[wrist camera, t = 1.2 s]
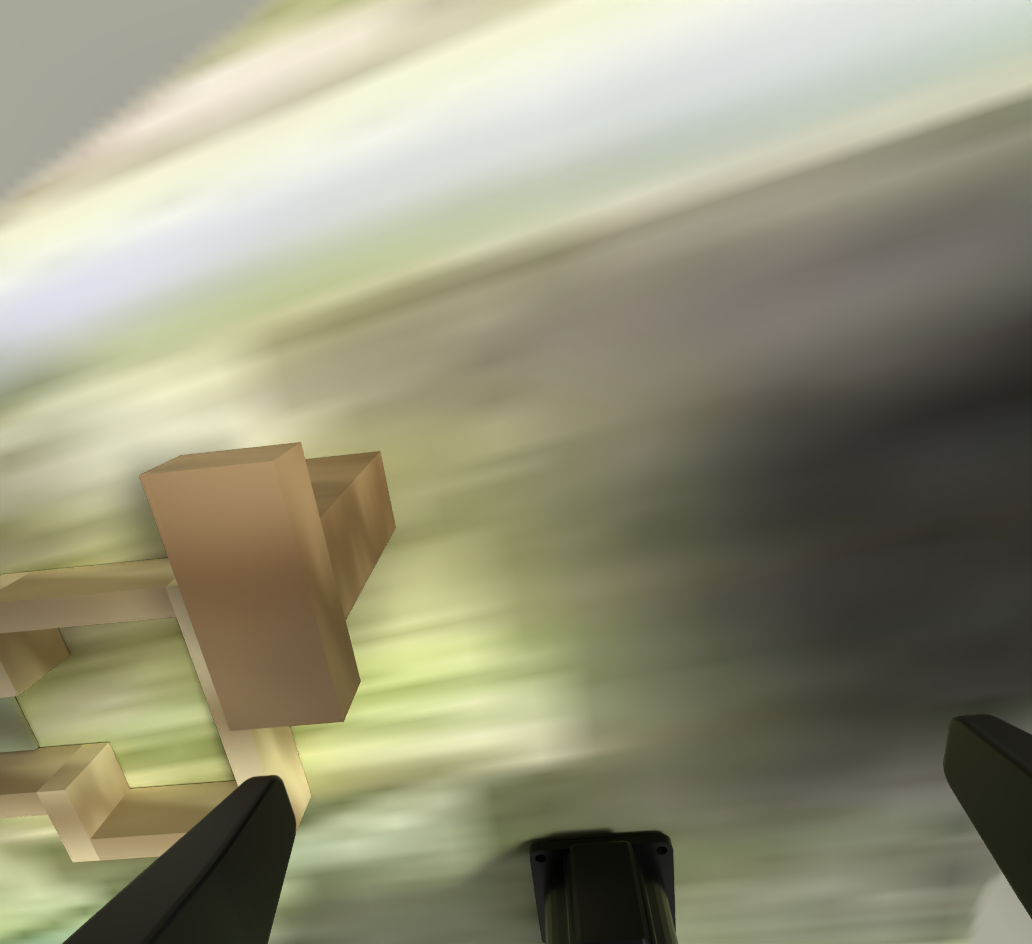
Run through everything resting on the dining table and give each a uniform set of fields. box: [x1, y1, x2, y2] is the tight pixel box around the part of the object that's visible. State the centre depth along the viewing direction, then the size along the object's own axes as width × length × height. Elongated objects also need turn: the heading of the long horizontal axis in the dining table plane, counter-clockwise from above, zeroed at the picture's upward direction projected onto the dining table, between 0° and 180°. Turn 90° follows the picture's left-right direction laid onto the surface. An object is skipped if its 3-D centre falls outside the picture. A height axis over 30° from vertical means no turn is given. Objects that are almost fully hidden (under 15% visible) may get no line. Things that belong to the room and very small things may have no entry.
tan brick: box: [139, 442, 396, 731], centre depth 16 cm, size 7×3×8 cm, turn 7°
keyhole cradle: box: [0, 558, 311, 862], centre depth 22 cm, size 12×18×2 cm
